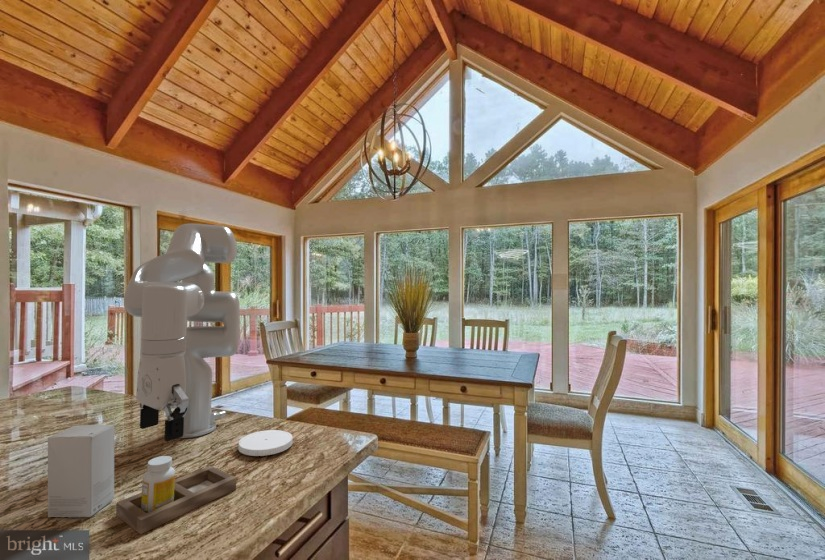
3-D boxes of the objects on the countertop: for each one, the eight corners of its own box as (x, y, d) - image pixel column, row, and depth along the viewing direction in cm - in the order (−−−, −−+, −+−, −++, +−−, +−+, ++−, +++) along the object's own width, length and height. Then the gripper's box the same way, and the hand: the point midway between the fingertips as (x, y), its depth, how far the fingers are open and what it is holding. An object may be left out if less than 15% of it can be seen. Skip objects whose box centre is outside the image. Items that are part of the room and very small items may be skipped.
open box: (210, 476, 89) (210, 465, 89) (236, 489, 84) (236, 477, 84) (115, 515, 73) (116, 502, 73) (140, 534, 68) (141, 520, 68)
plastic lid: (226, 456, 100) (226, 446, 100) (258, 436, 114) (259, 427, 114) (274, 462, 97) (274, 452, 97) (301, 441, 111) (301, 432, 111)
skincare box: (114, 500, 78) (118, 423, 79) (88, 519, 72) (92, 436, 72) (73, 500, 78) (76, 423, 78) (42, 519, 71) (46, 435, 72)
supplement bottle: (134, 518, 72) (136, 466, 72) (151, 501, 77) (153, 454, 78) (164, 517, 73) (166, 466, 73) (179, 501, 78) (181, 454, 78)
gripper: (122, 343, 77) (119, 428, 77) (165, 355, 68) (162, 451, 68) (162, 339, 83) (159, 417, 83) (207, 349, 74) (204, 437, 74)
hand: (161, 432), depth 76 cm, fingers open, 9 cm apart
